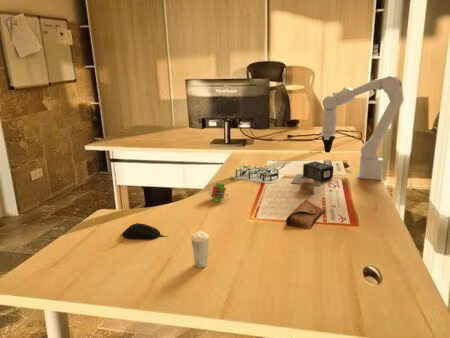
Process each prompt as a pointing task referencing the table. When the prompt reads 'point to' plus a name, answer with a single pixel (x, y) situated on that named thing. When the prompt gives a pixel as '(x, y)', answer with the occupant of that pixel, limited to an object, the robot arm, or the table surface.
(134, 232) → the gaming mouse
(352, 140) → the table surface
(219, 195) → the geometric puzzle
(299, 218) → the sunglasses case
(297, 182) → the mat
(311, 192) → the walnut block
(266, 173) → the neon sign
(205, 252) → the milkshake
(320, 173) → the box
